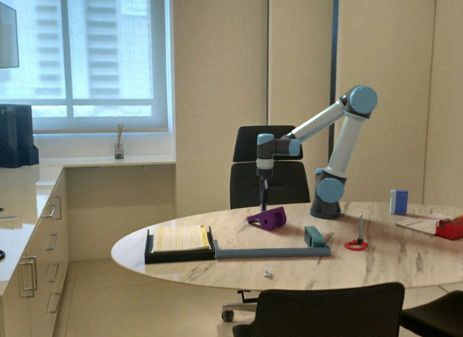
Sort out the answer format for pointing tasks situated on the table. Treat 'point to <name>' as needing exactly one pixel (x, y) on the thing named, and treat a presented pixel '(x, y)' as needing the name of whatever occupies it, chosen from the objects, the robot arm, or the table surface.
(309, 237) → the rail
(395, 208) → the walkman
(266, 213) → the mounting bracket
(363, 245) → the red ring with rod
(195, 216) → the table surface
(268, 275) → the power adapter
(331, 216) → the robot arm
